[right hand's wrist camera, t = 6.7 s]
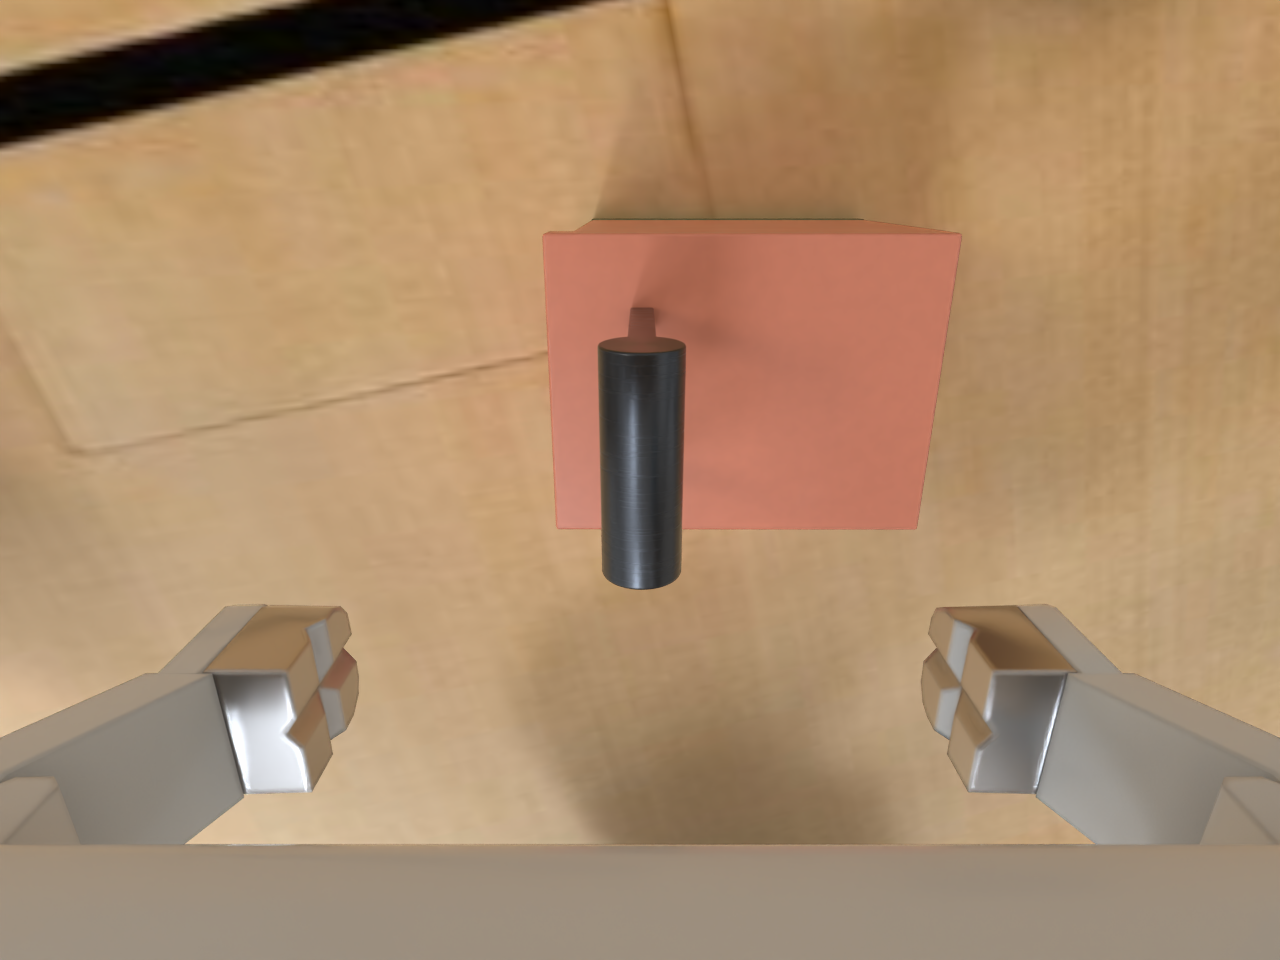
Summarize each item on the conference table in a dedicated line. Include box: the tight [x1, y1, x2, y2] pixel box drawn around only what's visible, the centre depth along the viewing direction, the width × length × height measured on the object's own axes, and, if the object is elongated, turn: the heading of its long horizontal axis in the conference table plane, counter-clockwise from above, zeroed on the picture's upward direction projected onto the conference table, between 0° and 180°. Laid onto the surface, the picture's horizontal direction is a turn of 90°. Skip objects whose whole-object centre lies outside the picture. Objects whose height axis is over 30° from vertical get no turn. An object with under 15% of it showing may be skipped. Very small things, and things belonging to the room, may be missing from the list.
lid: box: [543, 231, 962, 590], centre depth 20 cm, size 12×10×8 cm
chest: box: [575, 219, 941, 231], centre depth 29 cm, size 11×10×10 cm
